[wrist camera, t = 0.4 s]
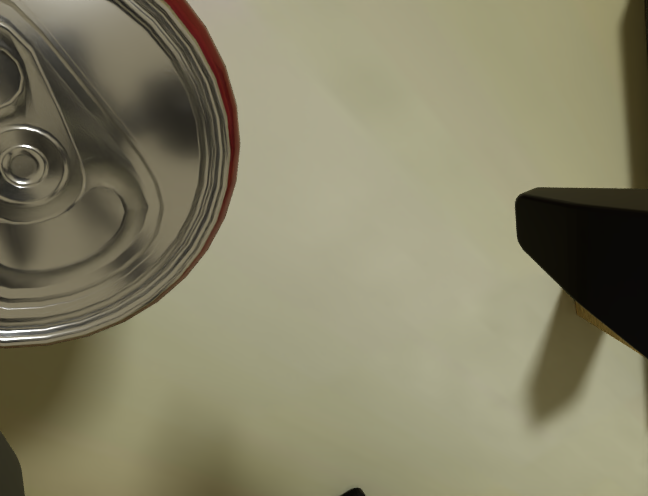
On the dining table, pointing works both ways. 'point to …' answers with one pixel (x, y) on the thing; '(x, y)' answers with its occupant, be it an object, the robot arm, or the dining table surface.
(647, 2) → the grey peg hole board
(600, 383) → the dining table surface
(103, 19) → the soda can
